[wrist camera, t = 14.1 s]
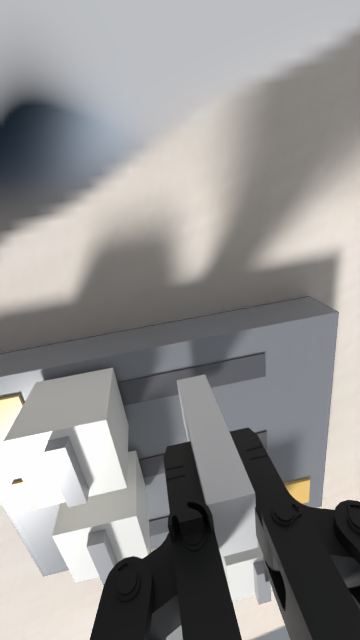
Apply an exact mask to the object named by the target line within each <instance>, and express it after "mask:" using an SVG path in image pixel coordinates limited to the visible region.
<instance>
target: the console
mask: <svg viewBox="0 0 360 640" xmlns="http://www.w3.org/2000/svg"><path fill="white" fill-rule="evenodd" d="M338 314H339V312H338V311H336V310H334V309H332V308H330V307H328V306H326V305H324V304H322V303H321V302H319V301H317V300H315V299H313V298H311V297H304V298H299V299H293V300H288V301H283V302H277V303H272V304H267V305H261V306H256V307H250V308H245V309H240V310H234V311H229V312H223V313H218V314H213V315H207V316H202V317H196V318H191V319H186V320H180V321H175V322H170V323H164V324H159V325H153V326H148V327H143V328H137V329H132V330H126V331H121V332H116V333H110V334H105V335H99V336H94V337H89V338H83V339H78V340H72V341H67V342H62V343H56V344H51V345H46V346H40V347H35V348H29V349H24V350H19V351H13V352H8V353H2V354H0V502H1V504H2V506H3V508H4V509H5V511H6V513H7V515H8V516H9V518H10V520H11V521H12V523H13V525H14V527H15V528H16V530H17V532H18V534H19V535H20V537H21V539H22V541H23V542H24V544H25V546H26V547H27V549H28V551H29V553H30V554H31V556H32V558H33V560H34V561H35V563H36V565H37V567H38V568H39V570H40V572H41V573H42V575H43V576H47V575H51V574H55V573H59V572H63V571H67V570H69V569H68V567H67V565H66V563H65V561H64V559H63V557H62V555H61V553H60V551H59V549H58V547H57V545H56V543H55V541H54V539H53V537H52V534H53V530H54V526H55V522H56V518H57V514H58V510H59V506H60V504H55V505H51V506H47V507H42V508H38V509H37V507H36V505H35V503H34V502H33V500H32V498H31V496H30V494H29V492H28V490H27V488H26V486H25V484H24V482H23V480H22V478H21V476H20V474H19V472H18V470H17V468H16V466H15V464H14V462H13V460H12V458H11V456H10V454H9V452H8V450H7V448H6V446H5V444H4V442H3V441H4V439H5V437H6V435H7V433H8V432H9V430H10V428H11V426H12V424H13V423H14V421H15V419H16V417H17V415H18V414H19V412H20V410H21V408H22V406H23V405H24V403H25V401H26V399H27V397H28V396H29V394H30V392H31V390H32V388H33V387H34V385H35V383H36V382H41V381H46V380H52V379H57V378H62V377H67V376H72V375H77V374H82V373H87V372H92V371H98V370H103V369H108V368H113V369H114V373H115V377H116V380H117V384H118V388H119V392H120V395H121V399H122V403H123V406H124V410H125V414H126V418H127V421H128V425H129V429H128V452H131V451H135V450H136V452H137V456H138V460H139V464H140V467H141V471H142V475H143V478H144V482H145V486H146V490H147V493H148V511H149V533H150V549H154V548H158V547H159V546H160V545H161V544H162V543H163V542H164V540H165V539H166V537H167V535H168V533H169V529H168V516H169V514H170V511H169V502H168V494H167V485H166V476H165V468H164V459H163V457H164V454H165V451H166V448H167V446H171V445H175V444H180V443H184V442H188V439H187V434H186V430H185V426H184V421H183V415H182V410H181V404H180V398H179V392H178V386H177V380H180V379H185V378H190V377H195V376H200V375H206V378H207V380H208V382H209V385H210V387H211V390H212V392H213V394H214V397H215V399H216V401H217V404H218V406H219V408H220V411H221V413H222V416H223V418H224V420H225V423H226V425H227V427H228V430H229V432H230V431H234V430H239V429H243V428H250V429H251V430H252V431H253V432H254V433H256V434H257V435H258V437H259V439H260V440H261V442H262V444H263V446H264V448H265V450H266V452H267V453H268V456H269V457H270V459H271V461H272V463H273V465H274V466H275V468H276V470H277V472H278V474H279V476H280V478H281V479H282V481H283V483H284V485H285V487H286V489H287V490H288V492H289V493H290V495H291V496H292V497H294V498H295V499H296V500H297V501H299V502H300V503H302V504H304V505H306V506H309V507H313V508H317V507H321V506H322V494H323V483H324V472H325V461H326V449H327V438H328V427H329V416H330V404H331V393H332V382H333V371H334V359H335V348H336V337H337V326H338Z"/></svg>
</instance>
